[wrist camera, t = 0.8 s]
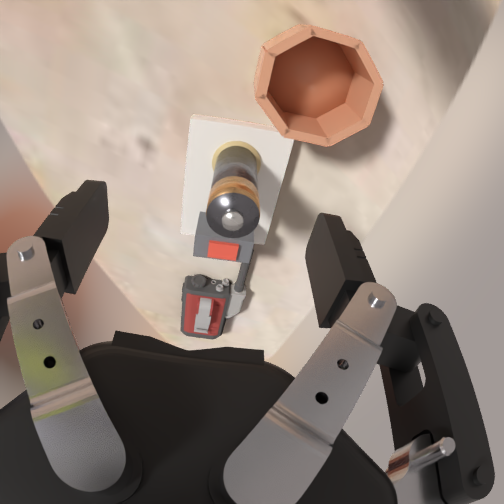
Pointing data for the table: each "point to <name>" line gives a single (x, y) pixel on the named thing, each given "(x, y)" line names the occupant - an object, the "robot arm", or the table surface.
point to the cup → (317, 85)
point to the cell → (234, 194)
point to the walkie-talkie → (211, 303)
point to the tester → (201, 175)
